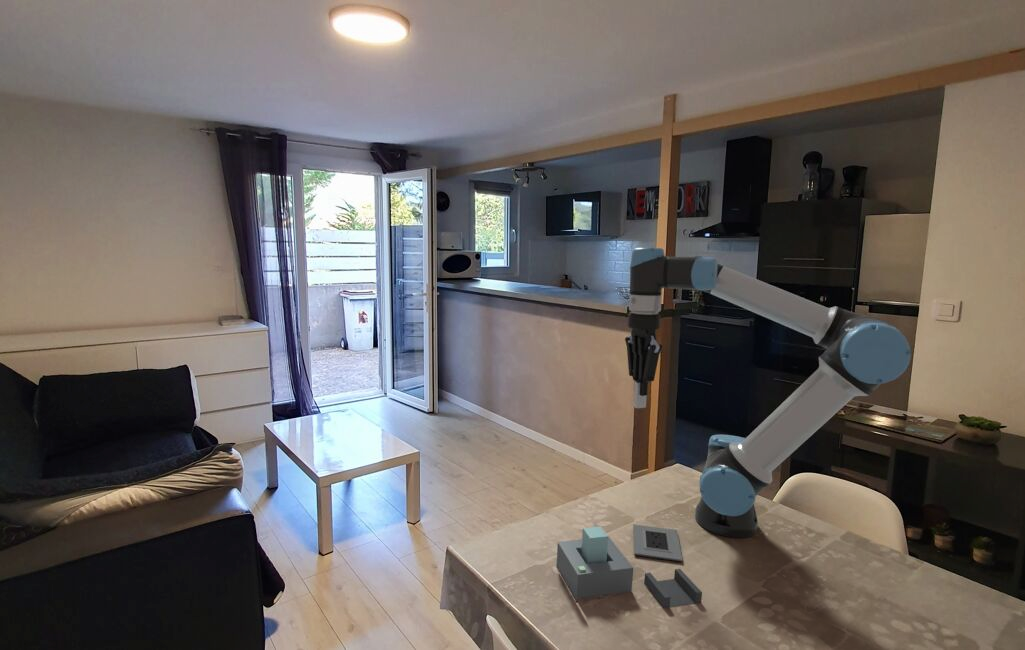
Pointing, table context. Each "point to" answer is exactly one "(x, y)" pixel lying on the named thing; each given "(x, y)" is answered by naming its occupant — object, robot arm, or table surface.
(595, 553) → the plug
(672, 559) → the electrical outlet
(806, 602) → the table surface
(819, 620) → the table surface
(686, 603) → the grey u-channel bracket
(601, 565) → the port block
